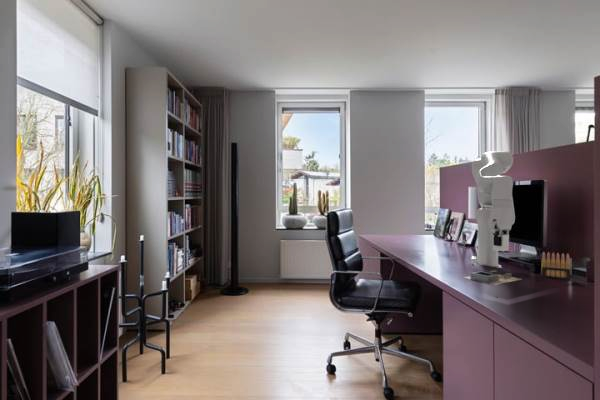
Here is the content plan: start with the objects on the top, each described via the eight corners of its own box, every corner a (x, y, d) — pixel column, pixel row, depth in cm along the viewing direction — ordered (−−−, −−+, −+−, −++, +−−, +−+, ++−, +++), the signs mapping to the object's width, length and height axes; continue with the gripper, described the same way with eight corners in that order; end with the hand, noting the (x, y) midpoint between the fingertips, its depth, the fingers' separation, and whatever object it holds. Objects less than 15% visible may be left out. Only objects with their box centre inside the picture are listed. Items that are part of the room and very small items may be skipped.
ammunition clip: (541, 277, 152) (541, 251, 152) (540, 277, 154) (541, 251, 154) (570, 280, 147) (571, 253, 147) (569, 279, 149) (570, 253, 149)
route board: (463, 280, 144) (463, 270, 144) (489, 275, 154) (490, 266, 154) (495, 288, 132) (495, 277, 132) (522, 282, 142) (522, 272, 142)
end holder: (470, 278, 142) (470, 272, 142) (481, 276, 145) (481, 271, 145) (488, 282, 135) (488, 276, 135) (498, 280, 139) (498, 274, 139)
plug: (492, 249, 147) (493, 231, 147) (498, 248, 150) (498, 231, 149) (503, 251, 144) (503, 232, 143) (508, 250, 146) (509, 232, 146)
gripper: (503, 203, 154) (502, 242, 154) (482, 203, 145) (481, 245, 146) (521, 204, 147) (520, 245, 147) (499, 204, 139) (498, 248, 139)
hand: (500, 244), depth 147 cm, fingers closed on plug, 4 cm apart
